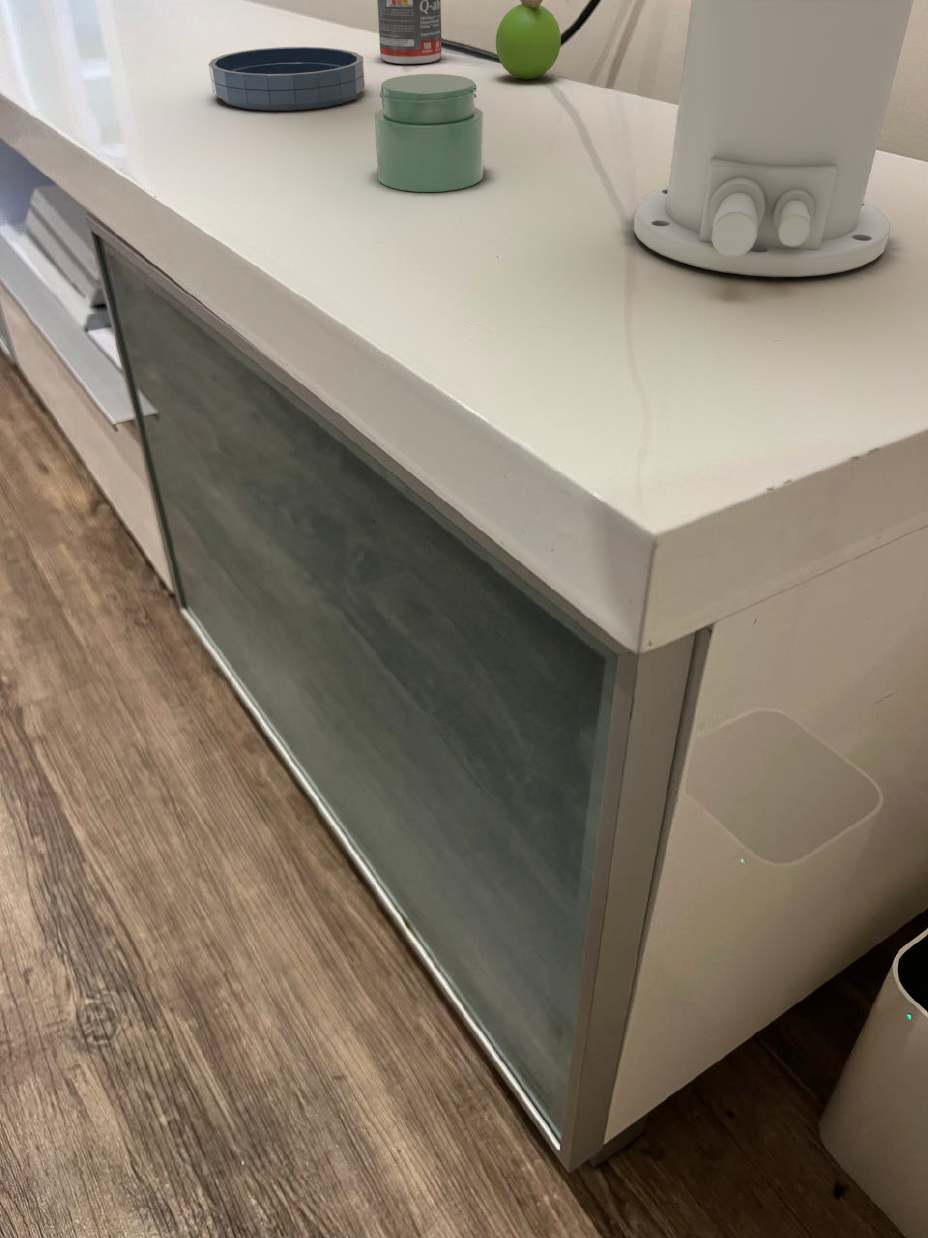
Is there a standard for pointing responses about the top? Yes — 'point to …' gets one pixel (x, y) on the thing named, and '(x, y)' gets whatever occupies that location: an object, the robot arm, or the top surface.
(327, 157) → the top surface
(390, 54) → the pill bottle
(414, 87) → the jar
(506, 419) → the top surface
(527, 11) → the green apple
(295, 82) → the dish
